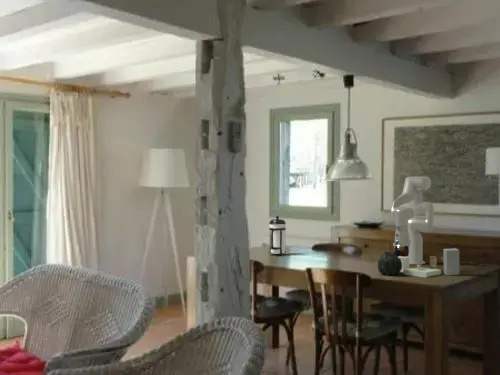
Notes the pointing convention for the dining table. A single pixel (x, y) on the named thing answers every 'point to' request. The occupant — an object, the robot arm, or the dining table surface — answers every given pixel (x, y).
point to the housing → (405, 263)
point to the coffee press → (277, 236)
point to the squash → (389, 264)
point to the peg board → (422, 272)
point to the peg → (433, 262)
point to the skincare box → (451, 261)
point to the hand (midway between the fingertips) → (402, 254)
